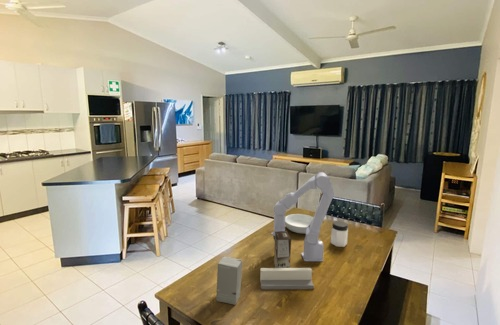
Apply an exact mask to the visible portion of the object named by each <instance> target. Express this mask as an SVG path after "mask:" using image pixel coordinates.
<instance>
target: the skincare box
mask: <svg viewBox="0 0 500 325" xmlns="http://www.w3.org/2000/svg"><path fill="white" fill-rule="evenodd" d="M242 268H243V260H242V259H239V258H235V257H229V256H224V255H223V256H222V257H221V259H220V260H219V262H218V263H217V274H216V275H217V276H216V277H217V278H216V295H215V296H216V297H215V298H216V302H220V303H224V304H225V303H226V304H230V305H234V306H236V305H237V303H238V301H239V299H240V296H241V287H242V286H241V285H242V270H243V269H242Z"/></svg>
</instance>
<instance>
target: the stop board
mask: <svg viewBox="0 0 500 325" xmlns="http://www.w3.org/2000/svg"><path fill="white" fill-rule="evenodd" d="M259 271H260V273H259V274H260V276H259V277H260V279H259V280H260V283H259V284H260V289H261V290H314V289H315V285H314V283H313V280H312V279H313V278H312V277H313V276H312V275H313V270H312V268H311V267H290V268H276V267H260V270H259Z"/></svg>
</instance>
